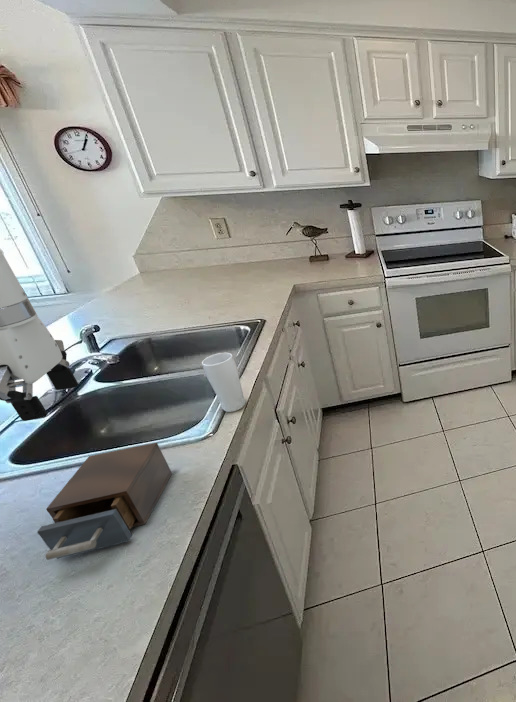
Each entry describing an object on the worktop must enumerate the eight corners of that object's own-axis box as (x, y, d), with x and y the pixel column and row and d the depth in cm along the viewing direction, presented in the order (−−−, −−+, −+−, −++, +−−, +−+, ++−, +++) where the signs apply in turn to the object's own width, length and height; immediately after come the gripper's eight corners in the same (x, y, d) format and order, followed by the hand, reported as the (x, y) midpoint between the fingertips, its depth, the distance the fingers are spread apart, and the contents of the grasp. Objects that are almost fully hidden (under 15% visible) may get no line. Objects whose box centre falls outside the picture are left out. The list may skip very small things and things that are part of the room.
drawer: (118, 560, 70) (100, 533, 67) (42, 580, 67) (20, 552, 64) (157, 489, 84) (144, 463, 81) (95, 503, 81) (79, 477, 78)
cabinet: (145, 524, 77) (126, 491, 74) (69, 542, 74) (45, 509, 70) (172, 473, 89) (157, 442, 85) (107, 487, 86) (89, 456, 82)
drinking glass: (254, 402, 112) (238, 355, 106) (231, 417, 106) (212, 367, 100) (238, 397, 115) (221, 350, 108) (214, 411, 109) (195, 362, 103)
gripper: (6, 300, 72) (54, 382, 80) (-78, 342, 58) (-9, 437, 65) (60, 294, 75) (102, 374, 82) (-8, 333, 60) (50, 426, 67)
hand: (52, 402), depth 74 cm, fingers open, 9 cm apart
